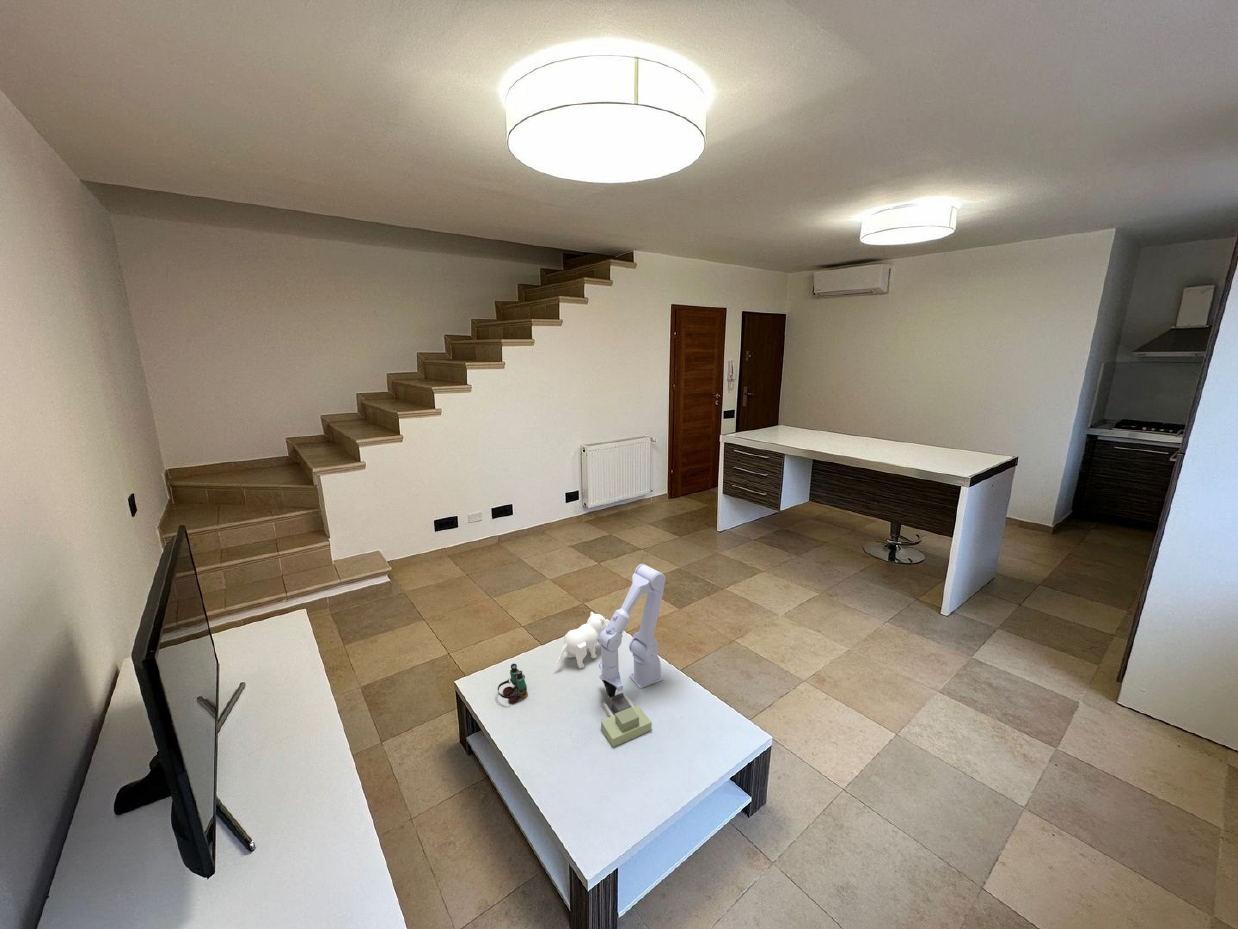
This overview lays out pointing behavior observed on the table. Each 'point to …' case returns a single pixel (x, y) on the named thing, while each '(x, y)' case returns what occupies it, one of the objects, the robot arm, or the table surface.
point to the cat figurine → (583, 639)
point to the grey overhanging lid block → (619, 703)
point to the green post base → (625, 724)
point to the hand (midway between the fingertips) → (611, 695)
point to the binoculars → (515, 685)
